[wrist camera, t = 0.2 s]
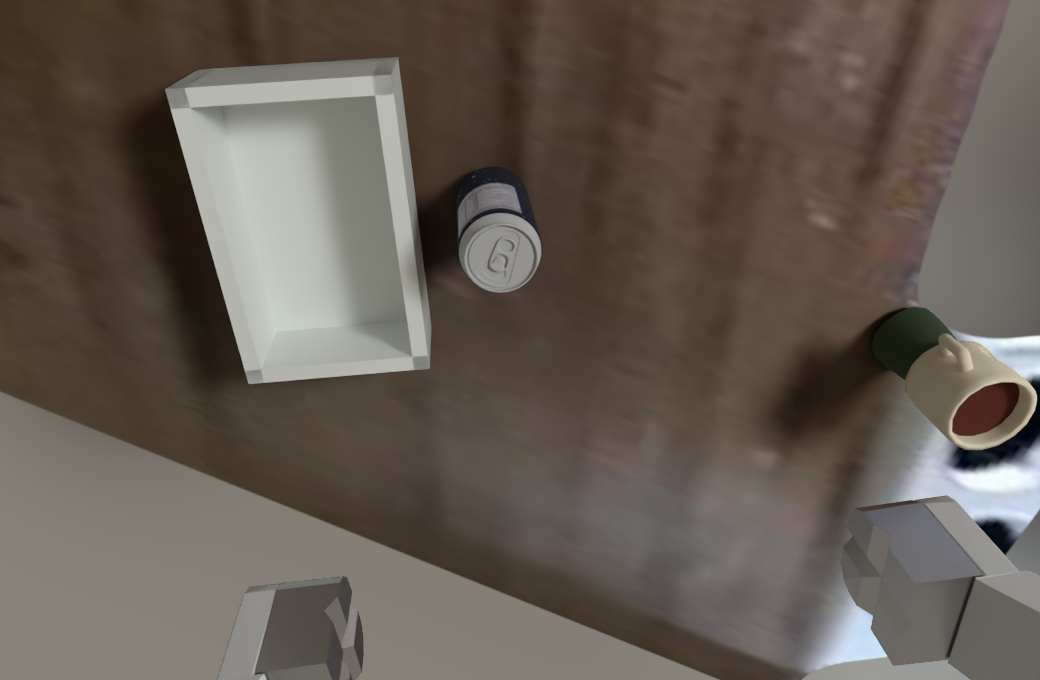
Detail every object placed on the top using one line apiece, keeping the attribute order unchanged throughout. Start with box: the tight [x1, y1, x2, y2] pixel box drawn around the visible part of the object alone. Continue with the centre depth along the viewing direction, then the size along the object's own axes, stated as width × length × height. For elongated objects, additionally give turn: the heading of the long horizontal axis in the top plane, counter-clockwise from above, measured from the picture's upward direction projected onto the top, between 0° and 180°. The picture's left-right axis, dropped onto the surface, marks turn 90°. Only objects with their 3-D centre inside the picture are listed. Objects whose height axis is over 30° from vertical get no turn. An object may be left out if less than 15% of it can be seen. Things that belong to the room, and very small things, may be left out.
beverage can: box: [456, 167, 542, 292], centre depth 52 cm, size 6×6×12 cm
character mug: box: [871, 307, 1037, 450], centre depth 62 cm, size 11×7×13 cm, turn 28°
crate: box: [165, 57, 431, 384], centre depth 54 cm, size 22×14×7 cm, turn 3°
